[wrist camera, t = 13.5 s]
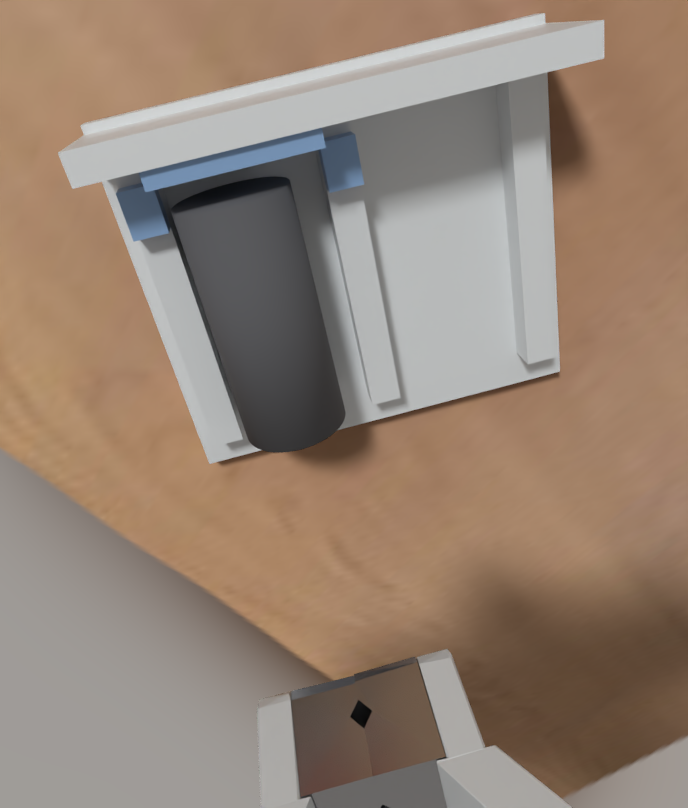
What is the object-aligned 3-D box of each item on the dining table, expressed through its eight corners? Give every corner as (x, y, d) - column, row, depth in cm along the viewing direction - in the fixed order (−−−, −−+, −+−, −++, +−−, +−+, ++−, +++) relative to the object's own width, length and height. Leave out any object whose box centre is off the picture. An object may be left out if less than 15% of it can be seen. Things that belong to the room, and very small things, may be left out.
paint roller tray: (552, 364, 30) (605, 415, 26) (209, 453, 29) (207, 521, 25) (535, 13, 23) (603, 8, 19) (84, 122, 22) (53, 141, 18)
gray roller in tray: (350, 390, 27) (340, 445, 24) (258, 401, 28) (236, 457, 25) (299, 169, 23) (278, 200, 19) (191, 190, 24) (153, 223, 20)
